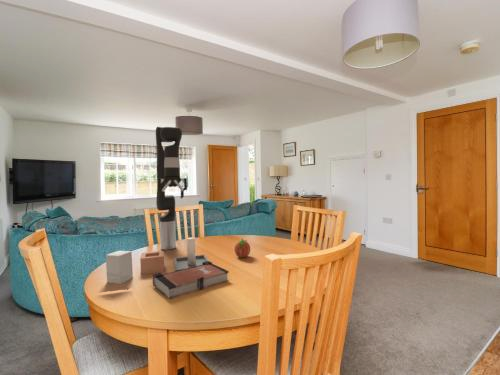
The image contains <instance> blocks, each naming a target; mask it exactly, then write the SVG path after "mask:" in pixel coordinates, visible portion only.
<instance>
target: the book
mask: <svg viewBox="0 0 500 375" xmlns="http://www.w3.org/2000/svg"><path fill="white" fill-rule="evenodd" d="M229 271H230V270H227V269H225V268H223V267H220V266H218V265H216V264H214V263H213V262H212V261H209V260H208V261H207V262H203V265H199V266H195V267H191V268H187V269H183V270H179V271H176V270H175V271H172V272H166V273H162V272H156V273H152V284H153V287H154V288H156V290H158V291H159V292H160V293H161V294H162V295H164V296H165V297H166V298H167V299H169V300H171V299H174V298H177V297H180V296H183V295H187V294H190V293H192V292H193V293H194V292H196V291H202V290H204V289H206V288H209V287H213V286H216V285H219V284H222V283H225V282H229V281H230V279H228V274H229V273H230V272H229Z"/></svg>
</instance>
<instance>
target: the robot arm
mask: <svg viewBox="0 0 500 375" xmlns="http://www.w3.org/2000/svg"><path fill="white" fill-rule="evenodd" d="M182 136H183V131H182V129H181V128H180V127H179V126H159V125H158V126H157V127H156V128H155V141H156V142H155V143H156V184H157V185H156V204H155V205H156V209H157V210H158V211H161V212H162V211H168V212H166V213H165V214H163V215H161V216H160V217H159V233H160V236H159V237H160V249H161V250H163V251H164V250H166V251H167V250H172V249H175V248H177V240H176V198H175V196H174V195H173V194H172V195H171V194H167V195H166V192H165V191H166V190H167V189H168V187H170V188H172V187H174V188H176V187H178V188H179V190H180V199H183V198H184V196H185V194H184V193H185V191H186V190H188V183H187V182H188V181H187V178H186V177H184V178H181V165H180V144H181V140H182ZM173 142H174V143H173ZM162 143H173V144H171V145H170V144H169V145H166V146H165V147H164V148H163V145H162ZM181 182H182V183H183V187H182V186H181V185H180V183H181Z"/></svg>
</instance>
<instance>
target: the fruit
mask: <svg viewBox="0 0 500 375" xmlns="http://www.w3.org/2000/svg"><path fill="white" fill-rule="evenodd" d="M250 253H251V245H250V243H248V241H247V240H243V238H241V240H240V241H238V242H236V244H235V246H234V254H235V255H236V256H237V257H238V258H240V259H241V258H247V257H248V256H249V255H250Z"/></svg>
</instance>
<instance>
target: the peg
mask: <svg viewBox="0 0 500 375" xmlns="http://www.w3.org/2000/svg"><path fill="white" fill-rule="evenodd" d="M196 254H197V253H196V238H195V237H187V238H186V257H187V263H188V266H194V265H196Z"/></svg>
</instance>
